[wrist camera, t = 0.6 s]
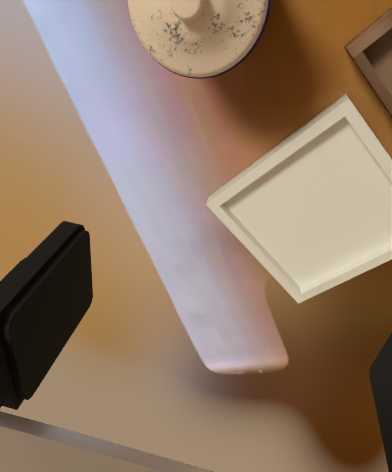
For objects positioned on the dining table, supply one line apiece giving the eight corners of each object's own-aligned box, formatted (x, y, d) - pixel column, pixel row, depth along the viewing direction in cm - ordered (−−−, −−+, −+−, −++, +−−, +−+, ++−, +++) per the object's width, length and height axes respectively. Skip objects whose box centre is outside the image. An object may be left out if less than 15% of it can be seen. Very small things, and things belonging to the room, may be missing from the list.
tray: (345, 93, 32) (349, 98, 30) (437, 223, 36) (444, 234, 35) (209, 195, 40) (206, 204, 38) (298, 292, 44) (298, 303, 43)
